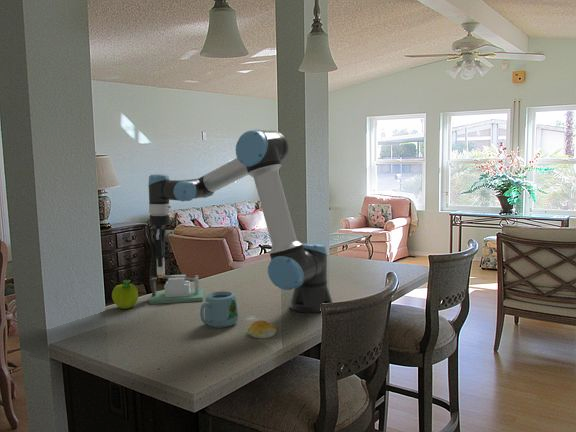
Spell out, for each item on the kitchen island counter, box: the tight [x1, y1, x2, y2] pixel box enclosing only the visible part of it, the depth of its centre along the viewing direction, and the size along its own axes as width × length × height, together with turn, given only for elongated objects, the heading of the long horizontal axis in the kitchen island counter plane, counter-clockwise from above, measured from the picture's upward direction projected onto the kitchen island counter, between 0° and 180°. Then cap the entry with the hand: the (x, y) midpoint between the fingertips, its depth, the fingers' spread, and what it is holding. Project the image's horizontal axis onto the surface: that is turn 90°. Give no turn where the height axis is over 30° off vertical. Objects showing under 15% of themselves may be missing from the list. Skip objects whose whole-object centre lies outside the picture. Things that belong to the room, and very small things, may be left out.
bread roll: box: [247, 320, 277, 339], centre depth 160 cm, size 8×9×4 cm
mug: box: [199, 291, 239, 329], centre depth 169 cm, size 15×11×10 cm
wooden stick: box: [157, 274, 195, 283], centre depth 203 cm, size 16×2×1 cm, turn 96°
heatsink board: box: [148, 274, 206, 305], centre depth 204 cm, size 20×13×8 cm, turn 95°
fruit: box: [111, 279, 139, 310], centre depth 192 cm, size 9×9×10 cm
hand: (160, 274), depth 203 cm, fingers closed
